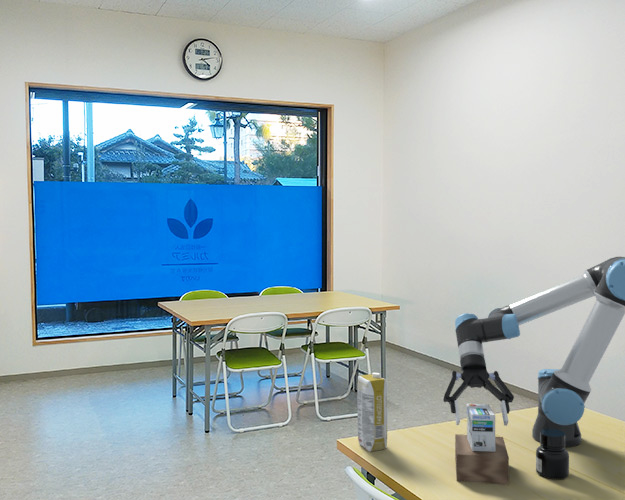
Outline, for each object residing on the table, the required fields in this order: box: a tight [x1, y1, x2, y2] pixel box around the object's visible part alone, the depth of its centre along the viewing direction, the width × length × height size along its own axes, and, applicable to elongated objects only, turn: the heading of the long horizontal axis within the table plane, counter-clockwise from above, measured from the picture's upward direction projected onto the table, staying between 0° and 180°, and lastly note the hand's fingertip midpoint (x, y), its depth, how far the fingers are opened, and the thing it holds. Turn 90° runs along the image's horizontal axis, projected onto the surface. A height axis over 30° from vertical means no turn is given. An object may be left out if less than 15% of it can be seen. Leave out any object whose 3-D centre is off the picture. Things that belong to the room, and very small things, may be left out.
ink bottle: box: [535, 429, 570, 480], centre depth 177 cm, size 10×9×12 cm
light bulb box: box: [466, 403, 496, 452], centre depth 179 cm, size 11×7×11 cm, turn 174°
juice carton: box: [356, 372, 388, 452], centre depth 199 cm, size 9×8×24 cm
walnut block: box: [454, 433, 510, 486], centre depth 180 cm, size 14×16×8 cm
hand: (482, 423), depth 177 cm, fingers open, 13 cm apart
